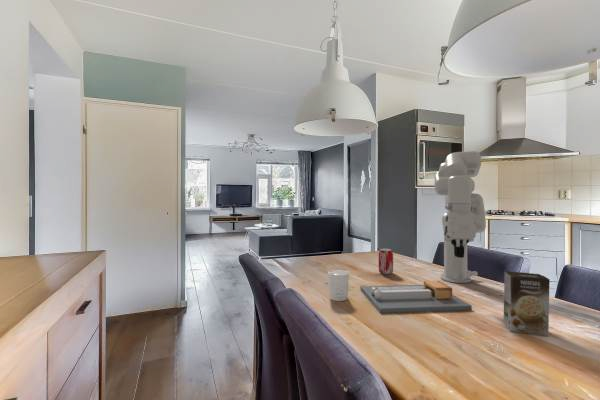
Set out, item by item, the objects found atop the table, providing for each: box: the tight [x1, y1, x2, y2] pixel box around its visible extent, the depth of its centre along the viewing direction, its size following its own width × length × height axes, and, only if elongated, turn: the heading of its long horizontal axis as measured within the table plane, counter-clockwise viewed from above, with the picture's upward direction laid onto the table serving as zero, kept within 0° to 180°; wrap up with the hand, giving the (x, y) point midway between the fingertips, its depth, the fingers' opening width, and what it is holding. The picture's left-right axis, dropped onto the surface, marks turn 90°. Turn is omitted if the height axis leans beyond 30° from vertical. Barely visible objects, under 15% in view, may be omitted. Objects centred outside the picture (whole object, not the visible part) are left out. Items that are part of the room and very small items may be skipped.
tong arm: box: [371, 286, 426, 296], centre depth 111 cm, size 21×3×2 cm, turn 94°
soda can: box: [378, 247, 394, 275], centre depth 147 cm, size 7×7×12 cm
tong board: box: [359, 284, 473, 314], centre depth 110 cm, size 32×24×4 cm
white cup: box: [327, 269, 350, 302], centre depth 111 cm, size 8×8×10 cm
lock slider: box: [423, 280, 453, 299], centre depth 110 cm, size 6×9×4 cm, turn 4°
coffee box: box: [503, 270, 551, 337], centre depth 85 cm, size 9×6×16 cm
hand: (459, 256), depth 110 cm, fingers closed
